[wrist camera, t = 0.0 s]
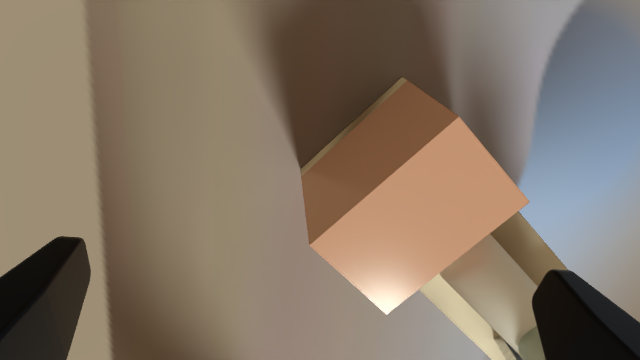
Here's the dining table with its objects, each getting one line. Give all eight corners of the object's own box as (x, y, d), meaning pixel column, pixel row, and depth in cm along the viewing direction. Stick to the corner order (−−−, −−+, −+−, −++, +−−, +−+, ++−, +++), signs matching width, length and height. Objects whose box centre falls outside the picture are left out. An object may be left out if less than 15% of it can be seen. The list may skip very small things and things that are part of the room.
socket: (358, 231, 25) (386, 314, 19) (301, 176, 24) (309, 245, 17) (462, 144, 24) (529, 201, 18) (407, 80, 23) (459, 116, 16)
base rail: (551, 412, 33) (559, 424, 32) (300, 169, 25) (301, 176, 24) (638, 354, 32) (649, 365, 31) (402, 76, 24) (407, 80, 23)
